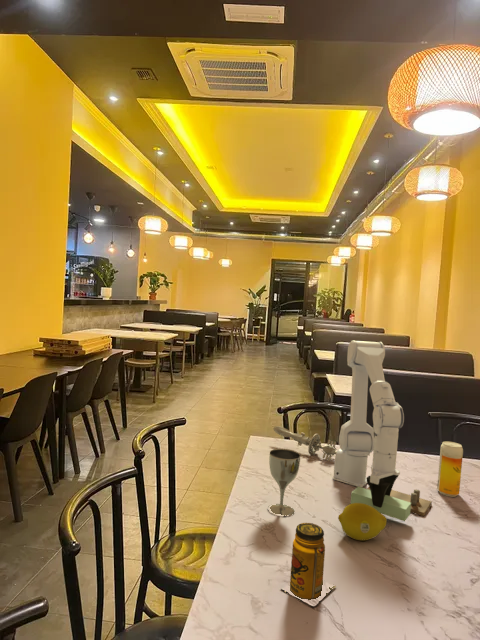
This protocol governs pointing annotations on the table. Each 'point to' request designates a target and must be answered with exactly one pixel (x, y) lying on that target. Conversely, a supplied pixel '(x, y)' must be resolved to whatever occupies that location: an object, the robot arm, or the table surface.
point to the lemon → (361, 521)
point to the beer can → (450, 468)
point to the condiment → (307, 562)
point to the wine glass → (283, 475)
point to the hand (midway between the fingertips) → (380, 502)
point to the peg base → (413, 508)
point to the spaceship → (309, 442)
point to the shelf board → (389, 507)
